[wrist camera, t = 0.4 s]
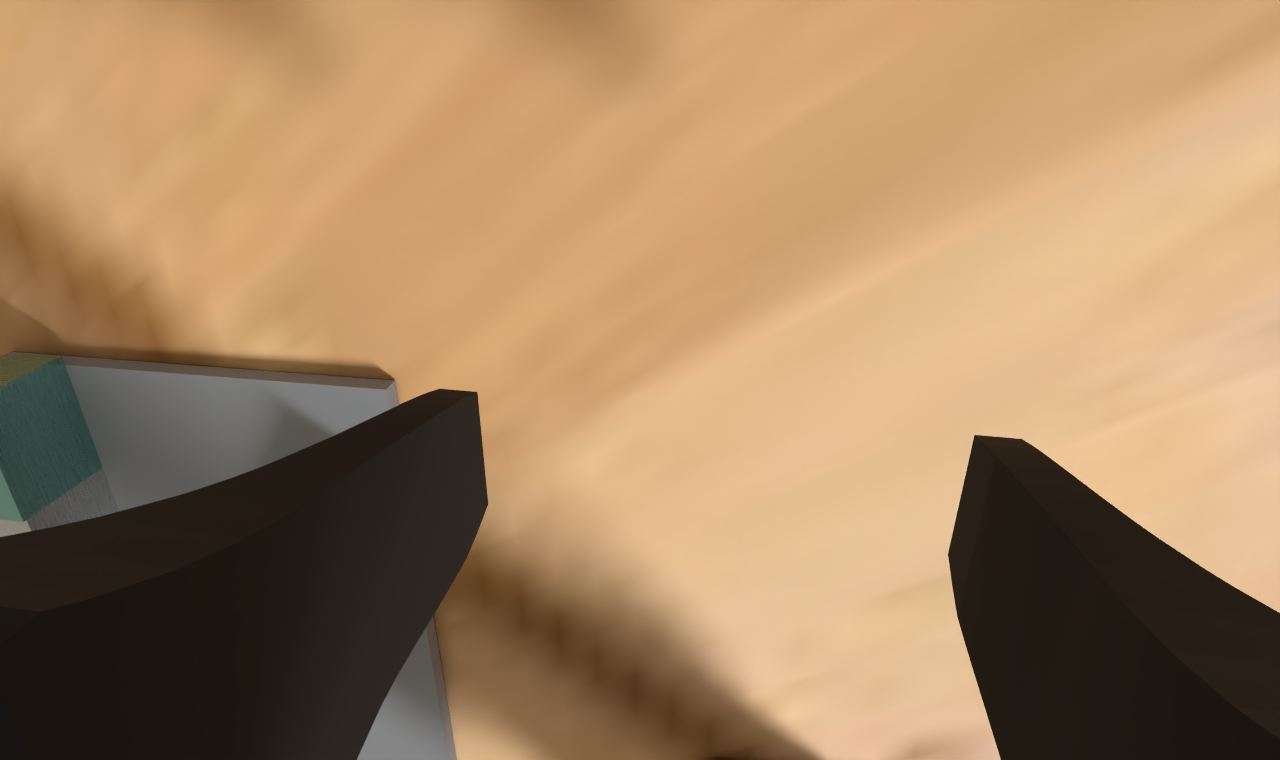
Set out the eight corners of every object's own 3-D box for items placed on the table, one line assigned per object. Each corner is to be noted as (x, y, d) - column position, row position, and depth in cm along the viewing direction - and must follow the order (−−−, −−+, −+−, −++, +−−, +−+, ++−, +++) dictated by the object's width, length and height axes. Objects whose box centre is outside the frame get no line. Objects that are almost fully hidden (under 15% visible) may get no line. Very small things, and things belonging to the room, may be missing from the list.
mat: (471, 852, 33) (466, 867, 32) (192, 804, 35) (182, 817, 34) (395, 380, 23) (385, 389, 22) (12, 351, 25) (-5, 359, 24)
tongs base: (317, 818, 34) (261, 916, 30) (207, 800, 34) (140, 893, 31) (181, 355, 24) (75, 418, 20) (33, 345, 25) (-94, 404, 21)
